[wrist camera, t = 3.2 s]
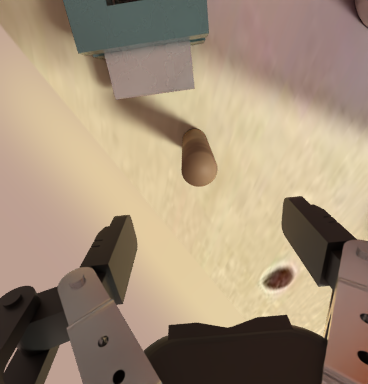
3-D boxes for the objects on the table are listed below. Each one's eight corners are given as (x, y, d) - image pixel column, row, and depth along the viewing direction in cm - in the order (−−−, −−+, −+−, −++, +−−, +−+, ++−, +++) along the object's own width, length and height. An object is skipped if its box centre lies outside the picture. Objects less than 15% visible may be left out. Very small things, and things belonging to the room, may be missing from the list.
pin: (205, 127, 27) (216, 150, 18) (207, 151, 28) (218, 184, 19) (180, 130, 27) (179, 155, 18) (184, 154, 28) (184, 188, 20)
